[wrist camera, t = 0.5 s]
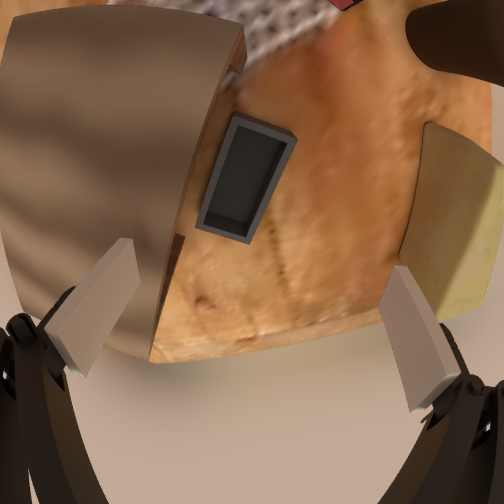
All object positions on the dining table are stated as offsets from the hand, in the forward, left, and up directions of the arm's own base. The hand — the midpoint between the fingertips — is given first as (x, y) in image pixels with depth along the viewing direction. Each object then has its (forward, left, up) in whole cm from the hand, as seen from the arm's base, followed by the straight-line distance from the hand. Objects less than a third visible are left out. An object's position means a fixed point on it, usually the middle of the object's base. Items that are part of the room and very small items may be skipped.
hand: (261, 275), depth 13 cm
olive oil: (-29, +5, -22) cm, 37 cm away
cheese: (-13, +22, -22) cm, 34 cm away
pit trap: (+3, +1, -22) cm, 22 cm away
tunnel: (+7, -11, -22) cm, 25 cm away
